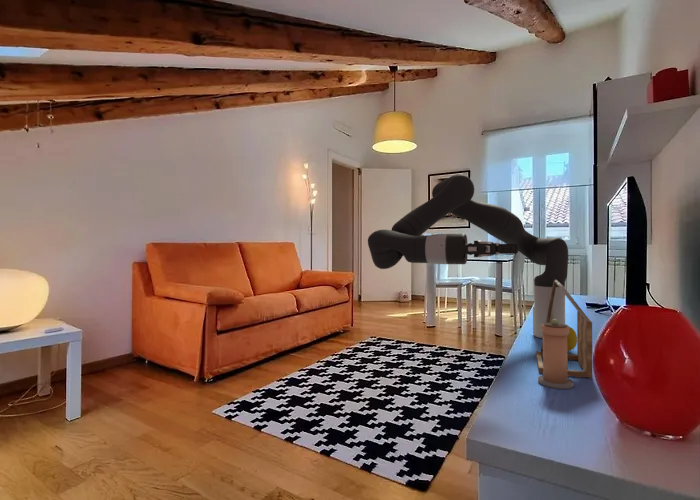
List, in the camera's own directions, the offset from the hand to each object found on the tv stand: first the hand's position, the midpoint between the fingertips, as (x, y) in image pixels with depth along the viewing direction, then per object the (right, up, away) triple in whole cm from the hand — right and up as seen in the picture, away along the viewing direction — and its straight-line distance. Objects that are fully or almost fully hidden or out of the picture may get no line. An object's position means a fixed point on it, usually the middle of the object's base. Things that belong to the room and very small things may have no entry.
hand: (517, 248), depth 88 cm
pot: (+7, -29, -3) cm, 30 cm away
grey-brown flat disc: (+7, -30, -3) cm, 31 cm away
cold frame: (+15, -30, +9) cm, 35 cm away
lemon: (+23, -30, +22) cm, 44 cm away
